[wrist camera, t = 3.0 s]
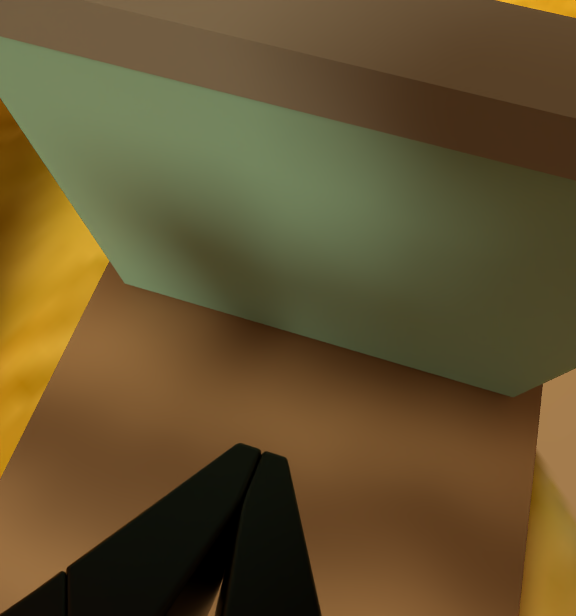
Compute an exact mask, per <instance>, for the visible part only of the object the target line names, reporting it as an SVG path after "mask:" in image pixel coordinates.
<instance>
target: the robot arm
mask: <svg viewBox="0 0 576 616" xmlns="http://www.w3.org/2000/svg"><path fill="white" fill-rule="evenodd" d="M222 580H223V581H222ZM221 583H222V585H221ZM220 586H221V589H220V593H219V597H218V601H217V605H216V610H215V614H214V616H322V614H321V609H320V605H319V600H318V596H317V591H316V586H315V582H314V577H313V573H312V568H311V564H310V559H309V554H308V550H307V545H306V541H305V536H304V532H303V527H302V522H301V518H300V513H299V509H298V504H297V500H296V495H295V490H294V486H293V481H292V477H291V472H290V467H289V463H288V460H287V458H286V457H284V456H281V455H278V454H275V453H272V452H268V451H264V452H263V453H262V454H261V450H260V449H259V448H256V447H253V446H249V445H246V444H243V443H237V444H235V445H234V446H233V447H231V448H230V449H228V450H227V451H226V452H224V453H223V454H222V455H220V456H219V457H217V458H216V459H215V460H213V461H212V462H211V463H209V464H208V465H206V466H205V467H204V468H202V469H201V470H200V471H198V472H197V473H195V474H194V475H193V476H191V477H190V478H189V479H187V480H186V481H184V482H183V483H182V484H180V485H179V486H178V487H176V488H175V489H173V490H172V491H171V492H169V493H168V494H167V495H165V496H164V497H162V498H161V499H160V500H158V501H157V502H156V503H154V504H153V505H151V506H150V507H149V508H147V509H146V510H145V511H143V512H142V513H140V514H139V515H138V516H136V517H135V518H134V519H132V520H131V521H129V522H128V523H127V524H125V525H124V526H123V527H121V528H120V529H118V530H117V531H116V532H114V533H113V534H112V535H110V536H109V537H107V538H106V539H105V540H103V541H102V542H101V543H99V544H98V545H97V546H95V547H94V548H92V549H91V550H90V551H88V552H87V553H86V554H84V555H83V556H81V557H80V558H79V559H77V560H76V561H75V562H73V563H72V564H70V565H69V566H68V567H67V568H66V573H65V572H64V571H60V572H59V573H57V574H56V575H55V576H53V577H52V578H51V579H49V580H48V581H47V582H45V583H44V584H43V585H41V586H40V587H38V588H37V589H36V590H34V591H33V592H31V593H30V594H28V595H27V596H26V597H24V598H23V599H21V600H20V601H18V602H17V603H15V604H14V605H13V606H11V607H10V608H8V609H7V610H5V611H4V612H2V613H1V614H0V616H208V614H209V611H210V609H211V607H212V605H213V603H214V600H215V598H216V596H217V593H218V591H219V588H220Z"/></svg>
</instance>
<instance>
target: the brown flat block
mask: <svg viewBox="0 0 576 616" xmlns="http://www.w3.org/2000/svg"><path fill="white" fill-rule="evenodd" d="M542 387H543V384H541V385H539V386H537V387H535V388H532V389H530V390H528V391H526V392H524V393H522V394H520V395H517V396H515V397H510V396H507V395H503V394H500V393H496V392H493V391H490V390H486V389H483V388H479V387H476V386H473V385H469V384H466V383H462V382H459V381H456V380H452V379H449V378H445V377H442V376H439V375H435V374H432V373H428V372H425V371H421V370H418V369H415V368H411V367H408V366H404V365H401V364H398V363H394V362H391V361H387V360H384V359H381V358H377V357H374V356H370V355H367V354H364V353H360V352H357V351H353V350H350V349H347V348H343V347H340V346H336V345H333V344H329V343H326V342H323V341H319V340H316V339H312V338H309V337H306V336H302V335H299V334H295V333H292V332H289V331H285V330H282V329H278V328H275V327H272V326H268V325H265V324H261V323H258V322H255V321H251V320H248V319H244V318H241V317H238V316H234V315H231V314H227V313H224V312H220V311H217V310H214V309H210V308H207V307H203V306H200V305H197V304H193V303H190V302H186V301H183V300H180V299H176V298H173V297H169V296H166V295H163V294H159V293H156V292H152V291H149V290H146V289H142V288H139V287H135V286H132V285H129V284H125V283H124V282H123V280H122V279H121V277H120V276H119V274H118V273H117V271H116V270H115V268H114V267H113V265H112V264H111V262H110V261H109V263H108V265H107V267H106V269H105V271H104V273H103V275H102V277H101V279H100V281H99V283H98V285H97V287H96V289H95V291H94V293H93V295H92V297H91V299H90V301H89V303H88V305H87V307H86V309H85V311H84V313H83V315H82V317H81V319H80V321H79V323H78V325H77V327H76V329H75V331H74V333H73V335H72V337H71V339H70V341H69V343H68V345H67V347H66V349H65V351H64V353H63V355H62V357H61V359H60V361H59V363H58V365H57V367H56V369H55V371H54V373H53V375H52V377H51V379H50V381H49V383H48V385H47V387H46V389H45V391H44V393H43V395H42V397H41V399H40V401H39V403H38V405H37V407H36V409H35V411H34V413H33V415H32V417H31V419H30V421H29V423H28V425H27V427H26V429H25V431H24V433H23V435H22V437H21V439H20V441H19V443H18V445H17V447H16V449H15V451H14V453H13V455H12V457H11V459H10V461H9V463H8V465H7V467H6V469H5V471H4V473H3V475H2V477H1V479H0V614H1V613H2V612H4V611H5V610H7V609H8V608H10V607H11V606H13V605H14V604H15V603H17V602H18V601H20V600H21V599H23V598H24V597H26V596H27V595H28V594H30V593H31V592H33V591H34V590H36V589H37V588H38V587H40V586H41V585H43V584H44V583H45V582H47V581H48V580H49V579H51V578H52V577H53V576H55V575H56V574H57V573H59V572H60V571H64V572H65V573H66V568H67V567H68V566H69V565H70V564H72V563H73V562H75V561H76V560H77V559H79V558H80V557H81V556H83V555H84V554H86V553H87V552H88V551H90V550H91V549H92V548H94V547H95V546H97V545H98V544H99V543H101V542H102V541H103V540H105V539H106V538H107V537H109V536H110V535H112V534H113V533H114V532H116V531H117V530H118V529H120V528H121V527H123V526H124V525H125V524H127V523H128V522H129V521H131V520H132V519H134V518H135V517H136V516H138V515H139V514H140V513H142V512H143V511H145V510H146V509H147V508H149V507H150V506H151V505H153V504H154V503H156V502H157V501H158V500H160V499H161V498H162V497H164V496H165V495H167V494H168V493H169V492H171V491H172V490H173V489H175V488H176V487H178V486H179V485H180V484H182V483H183V482H184V481H186V480H187V479H189V478H190V477H191V476H193V475H194V474H195V473H197V472H198V471H200V470H201V469H202V468H204V467H205V466H206V465H208V464H209V463H211V462H212V461H213V460H215V459H216V458H217V457H219V456H220V455H222V454H223V453H224V452H226V451H227V450H228V449H230V448H231V447H233V446H234V445H235V444H237V443H243V444H246V445H249V446H253V447H256V448H259V449H260V450H261V454H262V453H263V452H264V451H268V452H272V453H275V454H278V455H281V456H284V457H286V458H287V460H288V463H289V467H290V472H291V477H292V481H293V486H294V490H295V495H296V500H297V504H298V509H299V513H300V518H301V522H302V527H303V532H304V536H305V541H306V545H307V550H308V554H309V559H310V564H311V568H312V573H313V577H314V582H315V586H316V591H317V596H318V600H319V605H320V609H321V614H322V616H519V608H520V598H521V589H522V579H523V569H524V560H525V550H526V541H527V531H528V521H529V512H530V502H531V492H532V483H533V473H534V464H535V454H536V444H537V434H538V425H539V415H540V406H541V396H542ZM222 581H223V580H222ZM221 585H222V583H221ZM220 589H221V586H220V588H219V591H218V593H217V596H216V598H215V600H214V603H213V605H212V607H211V609H210V611H209V614H208V616H214V614H215V610H216V605H217V601H218V597H219V593H220Z"/></svg>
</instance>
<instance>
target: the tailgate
mask: <svg viewBox="0 0 576 616" xmlns="http://www.w3.org/2000/svg"><path fill="white" fill-rule="evenodd" d="M0 98H1V100H2V101H3V103H4V104H5V106H6V107H7V109H8V110H9V112H10V113H11V115H12V116H13V118H14V119H15V121H16V122H17V124H18V125H19V127H20V128H21V130H22V131H23V133H24V134H25V136H26V137H27V139H28V140H29V142H30V143H31V145H32V146H33V148H34V149H35V151H36V152H37V153H38V155H39V156H40V158H41V159H42V161H43V162H44V164H45V165H46V167H47V168H48V170H49V171H50V173H51V174H52V176H53V177H54V179H55V180H56V182H57V183H58V185H59V186H60V188H61V189H62V191H63V192H64V194H65V195H66V197H67V198H68V200H69V201H70V203H71V204H72V206H73V207H74V209H75V210H76V212H77V213H78V215H79V216H80V218H81V219H82V221H83V222H84V224H85V225H86V226H87V228H88V229H89V231H90V232H91V234H92V235H93V237H94V238H95V240H96V241H97V243H98V244H99V246H100V247H101V249H102V250H103V252H104V253H105V255H106V256H107V258H108V259H109V261H110V262H111V264H112V265H113V267H114V268H115V270H116V271H117V273H118V274H119V276H120V277H121V279H122V280H123V282H124V283H125V284H129V285H132V286H135V287H139V288H142V289H146V290H149V291H152V292H156V293H159V294H163V295H166V296H169V297H173V298H176V299H180V300H183V301H186V302H190V303H193V304H197V305H200V306H203V307H207V308H210V309H214V310H217V311H220V312H224V313H227V314H231V315H234V316H238V317H241V318H244V319H248V320H251V321H255V322H258V323H261V324H265V325H268V326H272V327H275V328H278V329H282V330H285V331H289V332H292V333H295V334H299V335H302V336H306V337H309V338H312V339H316V340H319V341H323V342H326V343H329V344H333V345H336V346H340V347H343V348H347V349H350V350H353V351H357V352H360V353H364V354H367V355H370V356H374V357H377V358H381V359H384V360H387V361H391V362H394V363H398V364H401V365H404V366H408V367H411V368H415V369H418V370H421V371H425V372H428V373H432V374H435V375H439V376H442V377H445V378H449V379H452V380H456V381H459V382H462V383H466V384H469V385H473V386H476V387H479V388H483V389H486V390H490V391H493V392H496V393H500V394H503V395H507V396H510V397H515V396H517V395H520V394H522V393H524V392H526V391H528V390H530V389H532V388H535V387H537V386H539V385H541V384H543V383H545V382H547V381H549V380H552V379H554V378H556V377H558V376H560V375H562V374H564V373H567V372H569V371H571V370H573V369H575V368H576V18H572V17H568V16H563V15H559V14H554V13H550V12H545V11H541V10H536V9H532V8H527V7H523V6H518V5H514V4H509V3H505V2H500V1H496V0H0Z"/></svg>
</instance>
